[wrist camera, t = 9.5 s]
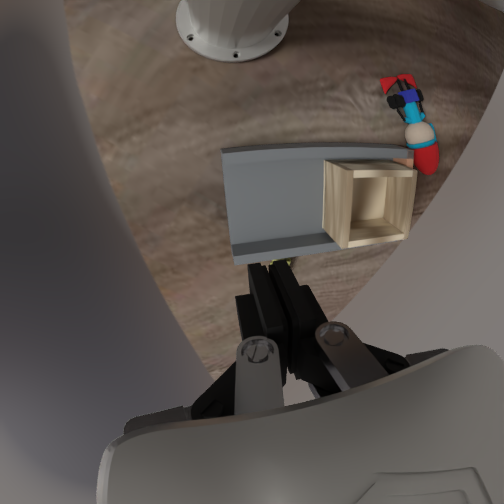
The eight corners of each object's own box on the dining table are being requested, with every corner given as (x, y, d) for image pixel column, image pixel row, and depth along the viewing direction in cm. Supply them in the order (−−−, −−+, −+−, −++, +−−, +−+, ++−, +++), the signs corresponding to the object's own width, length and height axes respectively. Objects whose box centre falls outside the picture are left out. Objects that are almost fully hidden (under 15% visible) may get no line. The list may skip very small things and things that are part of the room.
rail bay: (231, 248, 36) (234, 265, 32) (220, 148, 30) (222, 153, 26) (387, 228, 39) (402, 240, 35) (395, 144, 32) (414, 150, 29)
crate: (322, 227, 35) (341, 248, 30) (323, 159, 31) (346, 170, 26) (383, 220, 36) (407, 238, 31) (389, 159, 32) (417, 170, 27)
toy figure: (368, 82, 29) (403, 180, 34) (389, 74, 24) (426, 184, 30) (403, 75, 29) (434, 165, 34) (424, 69, 25) (455, 167, 30)
